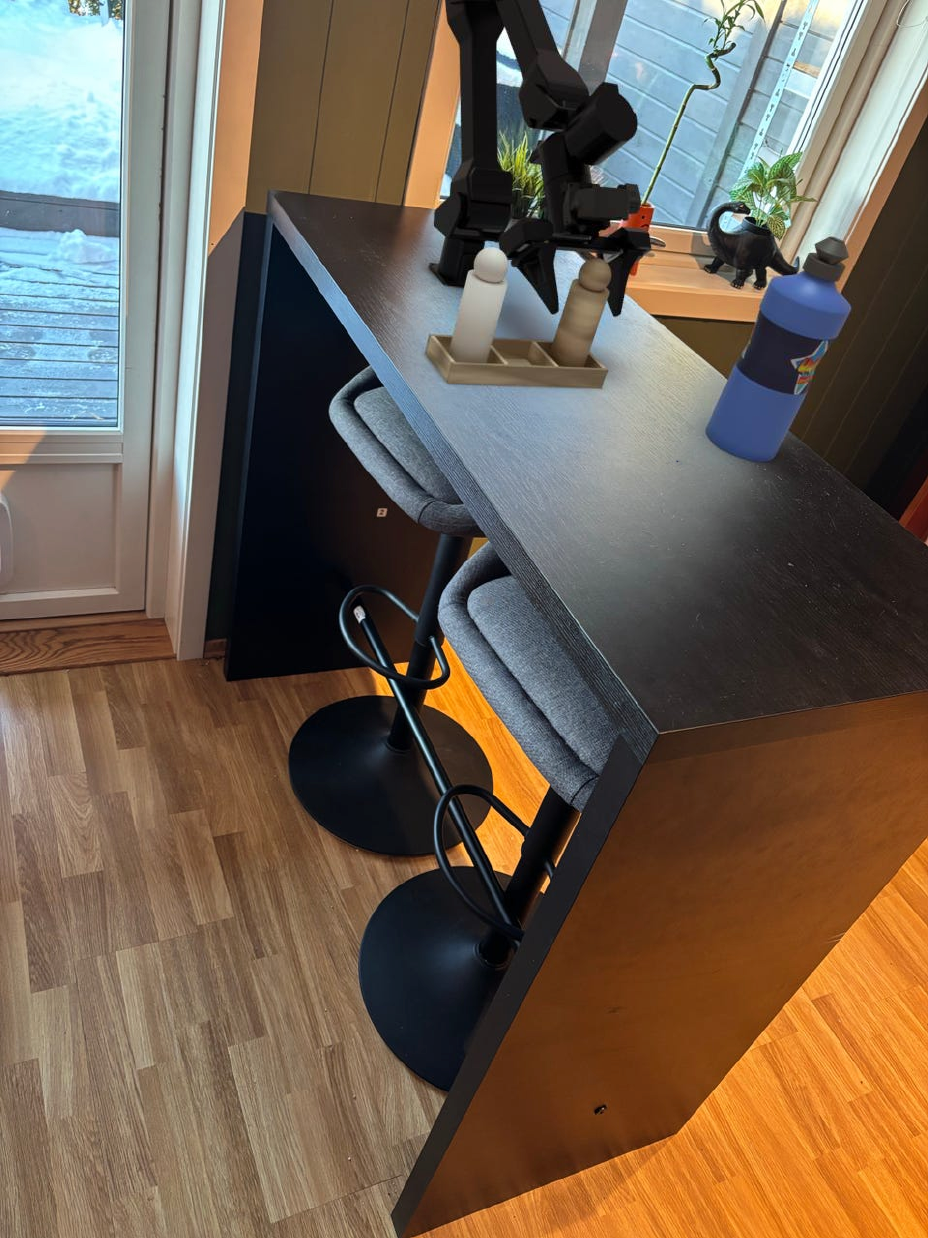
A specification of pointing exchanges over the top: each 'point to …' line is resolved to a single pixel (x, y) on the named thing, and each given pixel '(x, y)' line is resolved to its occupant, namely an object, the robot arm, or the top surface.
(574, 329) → the pepper mill
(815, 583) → the top surface
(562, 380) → the caddy
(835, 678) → the top surface
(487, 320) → the salt mill
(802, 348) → the water bottle
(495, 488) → the top surface
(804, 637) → the top surface
